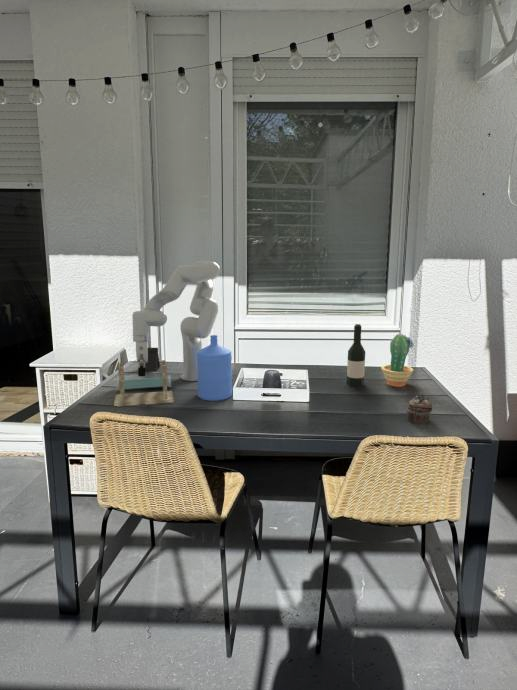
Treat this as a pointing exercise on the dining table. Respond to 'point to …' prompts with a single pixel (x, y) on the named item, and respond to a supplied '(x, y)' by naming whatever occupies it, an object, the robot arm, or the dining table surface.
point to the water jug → (214, 372)
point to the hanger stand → (142, 398)
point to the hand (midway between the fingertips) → (141, 373)
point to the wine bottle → (356, 360)
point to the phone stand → (153, 360)
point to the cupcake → (419, 409)
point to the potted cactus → (398, 361)
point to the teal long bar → (144, 382)
